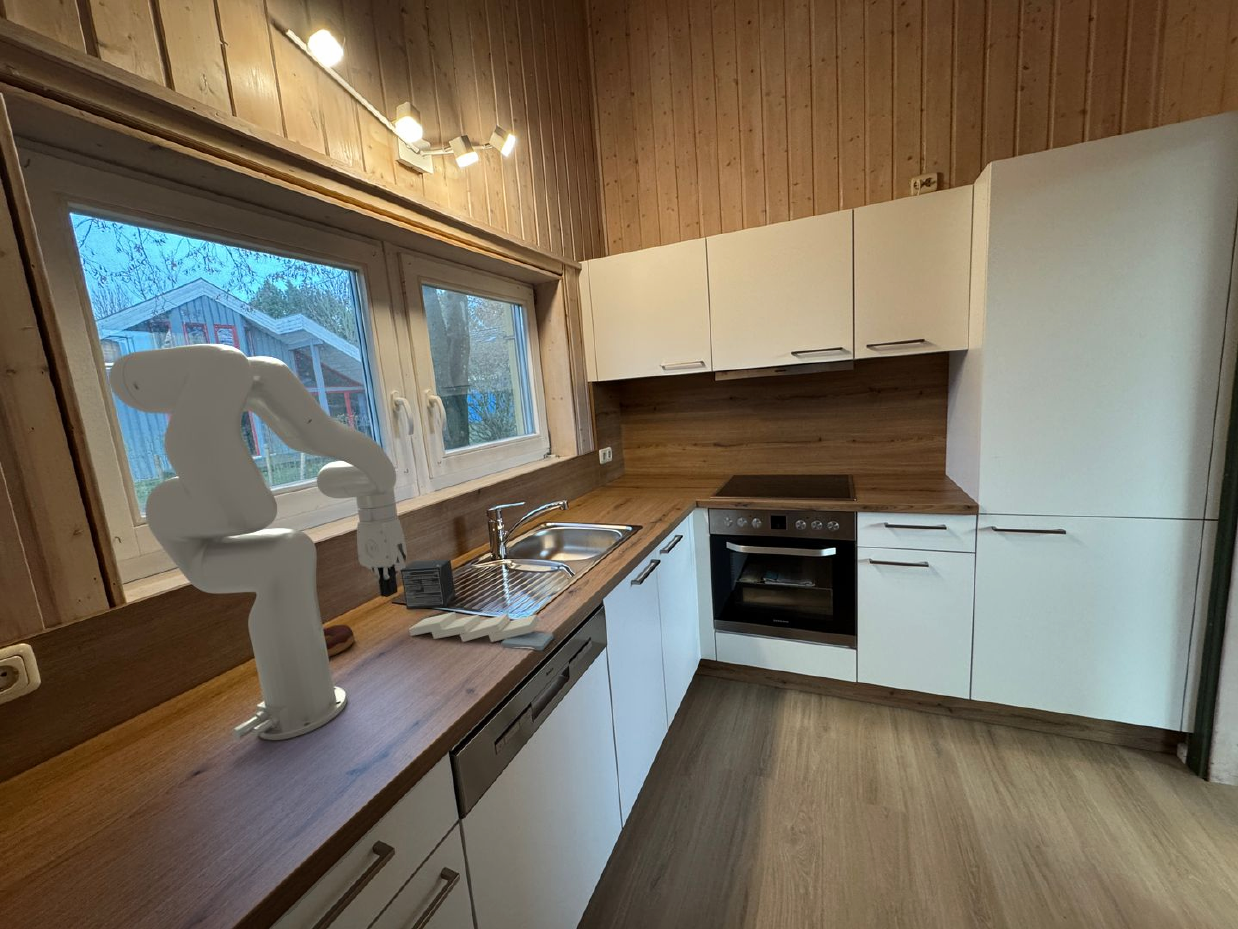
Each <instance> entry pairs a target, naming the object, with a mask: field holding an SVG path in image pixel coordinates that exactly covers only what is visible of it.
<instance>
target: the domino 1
mask: <svg viewBox="0 0 1238 929" xmlns="http://www.w3.org/2000/svg"><path fill="white" fill-rule="evenodd" d="M456 619H458V617H457V614H456V612H455V611H454V612H449V613H445V614H440V615H435V616H431V617H426V618H423V619H422V620H420V621H419V622H417V623H416V624H414V625H412V626H411V627H410V628H408V631H409V634H410V636H411V637H413V636H417V635H418V636H419V635H423V634H427V633H432V632H433V631H437V630H442V629H443V628H445V627H446V626H448V625H449V624H451V623H452V622H453V621H455V620H456Z"/></svg>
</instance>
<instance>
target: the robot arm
mask: <svg viewBox="0 0 1238 929" xmlns="http://www.w3.org/2000/svg"><path fill="white" fill-rule="evenodd" d="M108 382H109V385H110V388H111V390H112V392H113V394H114V395H115V396H116V397H117V398H118V400H120V401H121V402H122V403H123V404H125V405H126V406H128V407H129V408H132V409H133V410H137V411H139V412H143V413H149V414H164V415H165V414H167V415H168V414H170V418H169V421H168V423H167V426H166V430H165V434H164V440H163V443H164V445H163V446H164V452H165V455H166V458H167V460H168V462H169V464H170V466H171V467H172V469H173V471H174V473H175V474H176V476H175V477H171V478H168V479H165V480H163V481H161V482H160V483H158V484H157V485H156V486H154V487H153V488H152V490H151V491H150V493H149V494H148V497H147V498H146V502H145V507H144V508H145V512H144V513H145V519H146V523H147V525H148V528H149V530H150V531H151V533H152V535H153V537H155V538H154V539H156V541H157V542H158V543H159V545H160V546H161V547H162V549H163V550H164V551H165V553H166V554H167V555H168V556H169V557H170V559H171V560H172V561H173V563H174V564H175V566H176V567H177V568H178V570H179V571H180V572H181V574H182V575H183V576H184V577H185V578H186V580H187V581H189V583H190V584H192V585H193V586H194V587H195V588H196V589H198V590H200V591H202V592H204V593H209V594H234V593H235V594H236V593H237V594H238V593H255V594H256V598H255V600H254V603H253V605H252V607H251V609H250V611H249V615H248V619H247V620H248V623H247V626H248V632H249V638H250V641H251V645H252V650H253V655H254V659H255V660H254V661H255V665H256V669H257V674H258V675H257V676H258V679H259V684H260V689H261V693H262V697H263V698H262V699H263V701H262V702H260V703H258V704H257V705H256V707H257V712H255V713H254V714H253V716H252V717H251V718H250V719H247V720H246V721H244V722H242V723H241V724H239V725H237V726H235V727H234V728H232V729H231V735H232V738H233V739H234V740H235V741H238V742H239V741H240V740H242V739H243V738H245V737H247V736H248V735H250V734H251V733H252V735H253V736H254V737H260V738H262V739H265V740H269V741H280V740H287V739H292V738H296V737H299V736H301V735H305V734H307V733H311V732H312V731H314V730H316V729H318V728H320V727H322V726H324V725H326V724H327V723H329V722H330V721H331V720H332V719H334V718H336V717H337V716H338V715H339V714H340V713H341V712H342V711H343V710H344V708H345V706H346V705H347V702H348V697H347V693H346V690H345V689H343V688H341V687H338V686H334V685H335V684H334V681H333V674H332V669H331V665H330V659H329V657H328V653H327V648H326V642H325V637H324V632H323V629H324V626H323V623H322V617H321V611H320V606H319V599H318V592H317V561H318V560H317V559H318V558H317V549H316V545H315V543H314V541H313V539H312V538H311V537H310V536H309V535H308V534H306V533H304V532H303V531H300V530H297V529H294V528H282V527H281V528H267V527H269V526H271V525H272V523H274V521H275V519H276V517H277V515H278V504H277V501H276V498H275V495H274V493H273V492H272V490H271V487H270V486H269V484H268V481H267V480H266V479H265V477H264V475H263V473H262V472H261V470H260V468H259V466H258V465H257V463H256V461H255V459H254V458H253V456H252V454H251V452H250V450H249V448H248V446H247V444H246V442H245V439H244V437H243V436H244V435H243V433H242V419H243V414H244V412H245V413H246V412H249V413H254V415H256V417H258V419H259V420H261V422H263V423H264V424H265V425H266V426H267V427H268V428H269V429H270V430H271V431H272V432H273V433H274V435H276V436H277V438H278V439H279V440H280V441H281V442H282V443H283V444H284V445H285V446H286V447H288V448H289V449H290V450H292V451H293V450H294V451H297V452H301V453H304V454H307V455H312V456H317V457H323V458H327V459H328V458H329V459H333V460H337V461H331V462H330V463H327V464H326V465H324V466H322V468H321V469H320V470H319V472H318V473H317V475H316V485H317V487H318V490H319V492H321V493H322V494H323V495H324V496H326V497H329V498H332V499H348V498H349V499H351V498H356V504H357V505H356V506H357V511H358V512H357V513H358V519H359V521H358V522H357V528H356V541H357V542H356V543H357V544H356V546H357V555H358V561H359V564H360V565H361V566H363V567H366V569H368V570H371V571H372V572H373V573H374V574H375V578H376V580H378V586H379V593H380V597H382V598H389V597H392V596H393V595H395V594H397V593H398V584H397V583H398V582H397V577H396V576H398V573H399V571H400V570H402V569H405V568H406V563H405V562H406V561H407V557H408V554H407V553H408V551H407V546H406V544H407V543H406V539H405V535H404V531H403V527H402V524H401V521H400V518H399V517H398V511H397V504H396V496H395V489H394V488H395V485H396V483H397V473H396V469H395V466H394V464H393V462H392V460H391V459H390V457H389V456H388V455H387V452H386V451H384V449H383V448H382V446H381V445H380V444H379V443H378V442H377V441H376V440H375V439H374V438H372V437H371V436H369V435H367V434H366V433H363V432H361V431H360V430H358V429H355V427H354V428H353V427H352V426H350V425H348V424H346V423H343V422H342V421H339V420H337V419H335V418H332V417H331V416H330V415H329V414H328V413H327V412H326V411H325V410H324V408H323V406H321V404H320V403H319V402H318V401H317V400H316V398H315V397H314V396H313V395H312V394H311V392H310V391H309V389H307V387H306V386H305V385H304V384H303V382H302V381H301V380H300V379H299V377H298V376H297V375H296V374H295V372H293V370H292V369H291V368H290V367H289V366H288V365H287V364H286V363H285V362H283V361H281V360H280V359H278V358H274V357H270V356H251V357H249V356H248V357H247V355H246V354H245V353H243V351H241V350H239V349H238V348H237V347H236V348H235V347H234V346H231V345H227V344H222V343H221V344H219V343H218V344H217V343H201V344H189V345H181V346H174V347H173V346H172V347H166V348H165V347H164V348H156V349H146V350H140V351H139V350H138V351H133V352H130V353H127V354H125V355H122V356H121V357H119V358H117V360H115V361H114V363H113V364H112V366H111V367H110V369H109V374H108ZM266 528H267V529H266Z"/></svg>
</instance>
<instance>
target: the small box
mask: <svg viewBox="0 0 1238 929" xmlns="http://www.w3.org/2000/svg"><path fill="white" fill-rule="evenodd" d="M451 562H452V561H451V558H448V559H434V560H433V559H431V560H429V559H428V560H417V561H411V562H410V563H408V564H407V565H406V564H405V565H406V568H405V569H402V570H399V571H400V573H401V574H400V575H401V580H402V586H403V592H404V599H405V605H406V609H407V610H414V609H415V610H416V609H431V608H433V609H435V608H446V607H447V606H448V605H449V604H451V602H453V601H454V600H455V599H456V597H457V595H456V588H455V583H454V575H453V574H454V573H453V568H452V563H451Z"/></svg>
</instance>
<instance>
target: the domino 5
mask: <svg viewBox="0 0 1238 929" xmlns="http://www.w3.org/2000/svg"><path fill="white" fill-rule="evenodd" d="M553 639H554V633H550V632H548V633H547V632H535V631H532V632H530V633H526V634H522V635H518V636H514V637H510V638H506V639H503V640H502V641H501V644H500V645H501V647H502V646H503V647H502V648H507V647H532V648H534V650H533V651H543V650H544V649H545V648H546V647H547V646H548V645H549V644H550V642H551V641H553Z"/></svg>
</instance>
